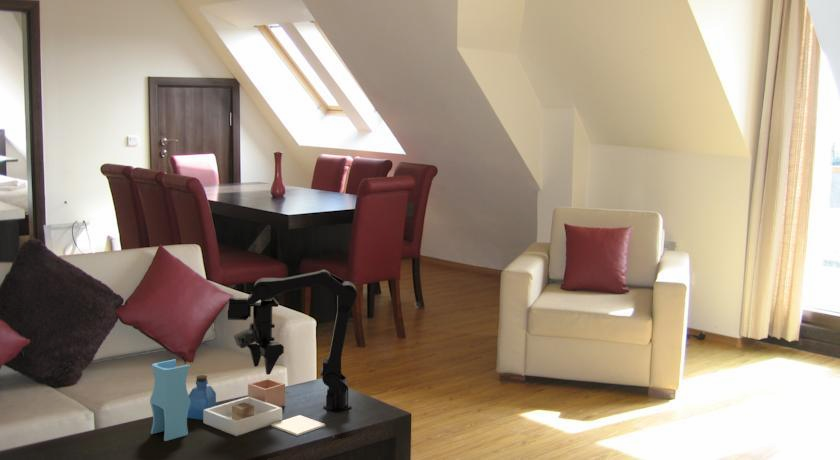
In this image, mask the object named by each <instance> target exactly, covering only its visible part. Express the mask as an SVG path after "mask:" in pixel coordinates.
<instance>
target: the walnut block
mask: <svg viewBox="0 0 840 460" xmlns="http://www.w3.org/2000/svg"><path fill="white" fill-rule="evenodd" d="M250 416H254V405H251V404H248V403H246V402H243V403H239V404H236V405H232V419H234V420H236V421H238V420H241V419H244V418H247V417H250Z"/></svg>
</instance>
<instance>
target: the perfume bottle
mask: <svg viewBox="0 0 840 460" xmlns="http://www.w3.org/2000/svg"><path fill="white" fill-rule="evenodd" d="M195 378H196V380H195V387H193V388H192V389H191V390H190V393H189V394H188V395H189V398H190V407H189V410H188V415H187V419H194V420H203V410H204V409H208V408H211V407H215V406H217V393H216V392H215V390H214V388H213V387H212V386H211V385H208V384H209V381H208V379H207V378H208V375H207V374H206V375H204V374H203V375H201V374H200V375H197V376H195Z"/></svg>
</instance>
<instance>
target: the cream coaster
mask: <svg viewBox="0 0 840 460" xmlns="http://www.w3.org/2000/svg"><path fill="white" fill-rule="evenodd" d="M270 426H271V427H272V428H275V429H278V430H280V431H283V432H286V433H288V434H290V435H294V436H296V437H298V436H302V435H304V434H307V433H310V432H312V431H315V430H318V429H320V428H321V429H322V428H324V427H326V423H323V422H321V421H318V420H315V419H311V418H309V417H307V416H303V415H301V414H299V415H298V414H297V415H295V416H293V417H289V418H286V419H282V421H280V422H277V423H274V424H271V425H270Z"/></svg>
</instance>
